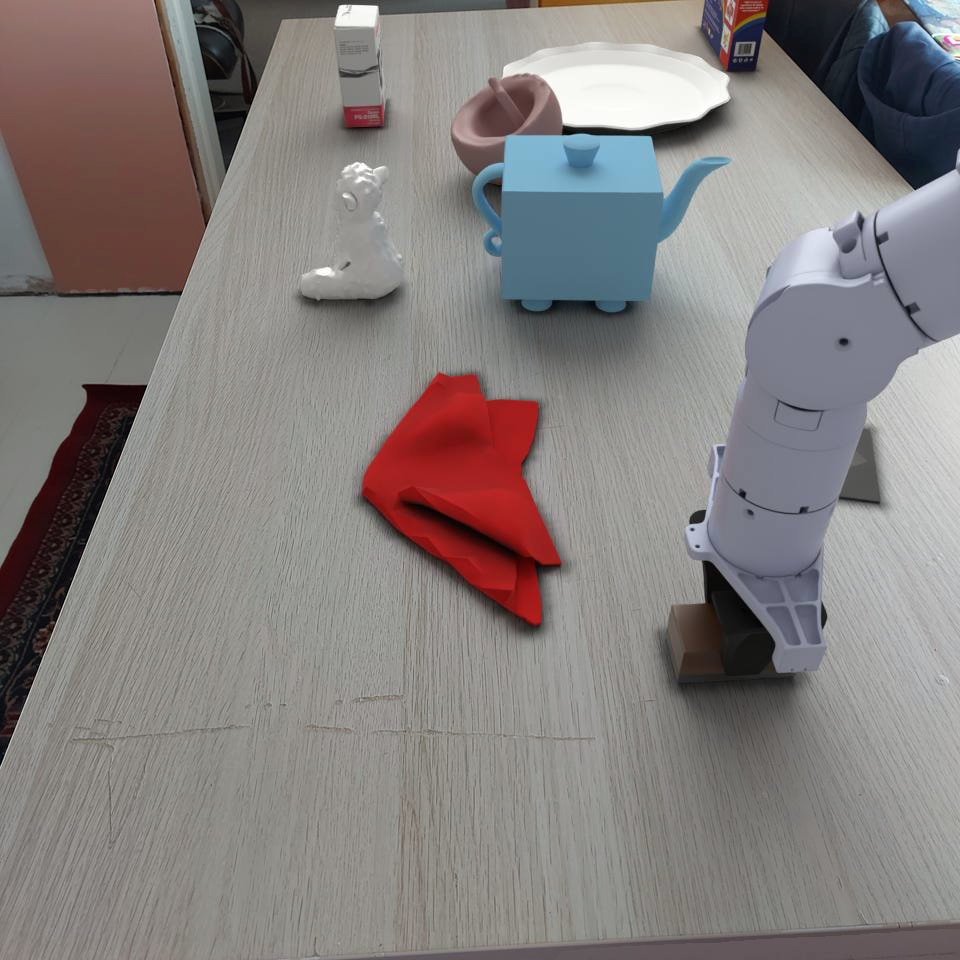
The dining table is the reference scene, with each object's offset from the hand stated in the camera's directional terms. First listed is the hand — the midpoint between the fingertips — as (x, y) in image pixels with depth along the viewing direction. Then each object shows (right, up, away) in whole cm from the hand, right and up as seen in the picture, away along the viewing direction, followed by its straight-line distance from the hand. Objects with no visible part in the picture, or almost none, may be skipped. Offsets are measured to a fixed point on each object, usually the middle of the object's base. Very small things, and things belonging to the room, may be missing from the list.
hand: (732, 641), depth 54 cm
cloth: (-17, +9, +12) cm, 23 cm away
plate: (+2, +59, +64) cm, 87 cm away
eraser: (0, -1, +1) cm, 1 cm away
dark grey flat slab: (+12, +11, +13) cm, 21 cm away
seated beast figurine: (-26, +28, +32) cm, 50 cm away
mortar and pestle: (-12, +43, +48) cm, 65 cm away
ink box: (-29, +56, +62) cm, 88 cm away
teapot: (-5, +28, +32) cm, 42 cm away
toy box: (+21, +72, +77) cm, 108 cm away
